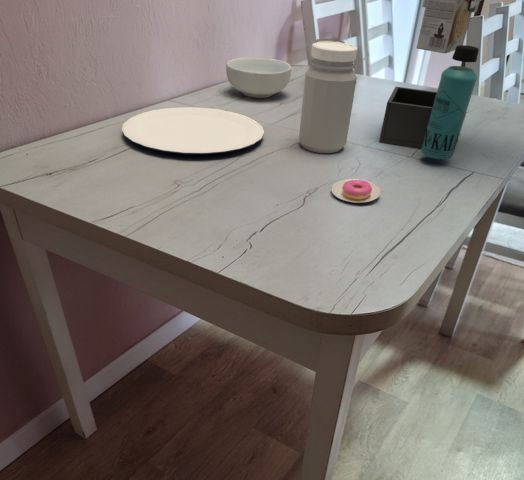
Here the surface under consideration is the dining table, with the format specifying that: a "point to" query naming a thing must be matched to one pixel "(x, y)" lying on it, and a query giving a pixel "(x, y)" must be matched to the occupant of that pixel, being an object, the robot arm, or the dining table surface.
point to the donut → (356, 190)
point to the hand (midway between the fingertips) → (448, 9)
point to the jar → (328, 97)
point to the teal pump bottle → (450, 106)
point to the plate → (193, 130)
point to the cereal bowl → (258, 76)
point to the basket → (407, 117)
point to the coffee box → (444, 25)
